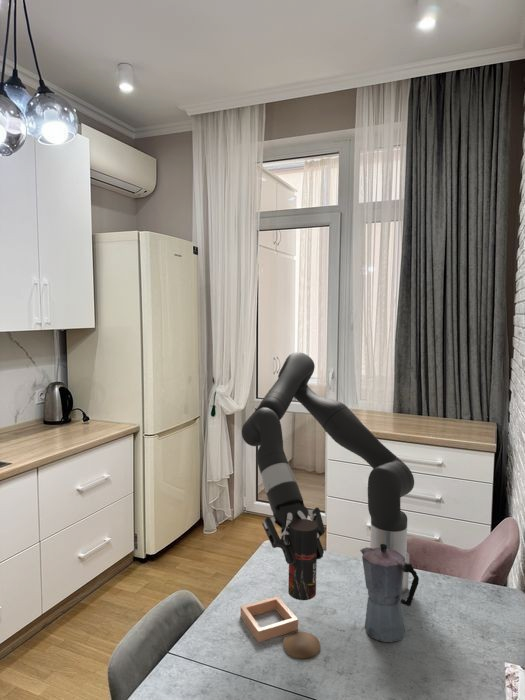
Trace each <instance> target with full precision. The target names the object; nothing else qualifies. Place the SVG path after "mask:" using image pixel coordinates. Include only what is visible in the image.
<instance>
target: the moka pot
mask: <svg viewBox="0 0 525 700" xmlns="http://www.w3.org/2000/svg"><path fill="white" fill-rule="evenodd" d="M359 551H360V552H361V554H362V557H361V559H362V566H363V567H362V568H363V573H364V580H365V581H364V582H365V588H366V589H367V595H368V596H367V603H366V610H365V611H366V612H365V621H364V630H365V631H366V633H367V635H369V636H370V637H371V638H372V639H374V640H377V641H379V642H383V643H393V642H395V643H396V642H397V641H401V640H403V638H404V637H405V634H406V626H405V621H404V614H403V606H402V605H404V606H406V607H411V606H412V603H413V600H414V596H415V593H416V591H417V588H418V585H419V580H420V577H419V576H418V574H417V571H416V570H415V569H414V567H413V564H411V563H409V564H407V563H406V562H405V557H404V556H402V555H401V554H400V553H398V552H397V551H396V550H391V549H387V545H385V544H380V547H379V548H370V547H366V546H365V547H364V548H361V549H360V550H359ZM404 572H409V574H411V575H412V577H413V579H412V581H411V586H410V588H409V592H408V596H407V597H406V599H404V598H401V595H400V592H401V589H402V582H403V573H404Z"/></svg>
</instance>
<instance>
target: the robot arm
mask: <svg viewBox="0 0 525 700" xmlns="http://www.w3.org/2000/svg"><path fill="white" fill-rule="evenodd" d="M314 372H315V362H314V360H313V359H312V358H311V356H309V355H308V354H306V353H303V352H301V351H300V352H299V351H295V352H292V353H290V354H289V355H288V356H287V357H286V358H285V361H284V363H283V365H282V366H281V369H279V373H278V375H277V380H275V382H274V384H273V385H272V387H271V388H270V389H269V390H268V391H267V393H266V394H265V396H264V397H263V399H261V402H260V403H259V405H258V406H257V408H256V409H255V410H254V411H253V413H252V414H251V415H250V416H249V417H248V418H247V420H246V421H245V422H244V424H243V425H242V427H241V438H242V440H243V441H244V443H245V444H247V445H249V446H251V447H258V449H257V451H256V453H255V458H256V459H255V461H256V464H257V466H258V469H259V472H260V476H261V479H262V485H263V488H264V491H265V494H266V497H267V500H268V503H269V507H270V509H271V512H272V514H273V515H272V517H269V516H267V517H266V518H265V519H263V522H262V527H263V529H264V531H265V533H266V535H267V538H268V541H269V543H270V545H271V547H272V548H274V549H276V548H280V549H281V550H282V553H283V555H284V558H285V561H286V564H287V565H289V564H290V566H294V565H295V564H296V558H295V555H294V552H293V549H292V547H291V545H289V540H290V538H289V531H290V522H291V521H293V520H297V519H308V517H309V520H312V521H314V522H315V523H316V524H317V560H321V559H322V558H323V556H324V552H325V551H324V548H323V546H322V543H321V540H320V538H321V537H322V536H323V535H324V534H325V533H326V530H325V526H324V525H325V524H324V520H323V517H322V514H321V510H320V508H319V507H315V508H314V509H308V508H307V507H306V506H305V504H304V499H303V496H302V494H301V490H300V488H299V486H298V481H297V479H296V476H295V475H294V471H293V470H292V468H291V466H290V464H289V461H288V459H287V455H286V453H285V451H284V439H283V428H282V424H281V420H282V418H283V417H284V416H285V414H286V412H287V410H288V409H289V407H290V405H291V403H292V402H293V399H295V400H297V401H298V403H300V404H301V405H302V406H303V407H304V408H305V410H307V412H309V414H310V415H311V416H313V418H314V419H315V420H316V421H317V422H318V424H319V425H320V426H321V427H322V428H323V430H324V431H325V432H326V434H327V435H328V436H330V438H331V439H332V440H334V442H336V443H337V444H338V445H339V446H341V447H343V448H344V449H346V450H348V451H349V452H351V453H352V454H355V456H356V455H357V456H358V457H360V458H361V459H362V460H364V461H365V462H366V463H367V464H368V465H369V466H370V467H371V468H372V470H371V471H370V473H369V475H368V480H367V509H368V514H369V516H370V542H369V544H370V545H369V548H379V547H380V544H385V545H387V549H391V550H396V551H397V552H398V553H400V554H401V555H402V556H404V557H405V562H406V563H407V564H410V554H409V552H408V551H407V545H408V544H407V543H408V516H407V514H406V513H405V512H404V511H402V509H401V498H403V497H404V496H406V495H407V494H409V493H410V492H411V491H412V490H413V489H414V486H415V478H414V475H413V472H412V471H411V469H410V468H409V467H408V465H407V464H406V463H405V462H404V461H403V460H402V459H400V458H399V457H398V456H397V455H395V454H394V452H392V451H391V450H390V449H389V448H387V447H386V446H385V445H384V444H383V443H382V442H381V441H380V440H379V439H378V438H377V437H376V436H375V435H374V434H373V433H372V432H371V431H370V430H369V428H368V427H366V426H365V425H364V423H362V421H361V420H360V419H359V417H357V416H356V415H355V413H354V412H353V411H352V410H351V409H350V408H349V407H348V406H347V405H346V404H344V403H343V402H341V401H338V400H335V399H332V398H327V397H323V396H320V395H318V394H317V393H316V392H315V391H313V390H312V389H311V388H310V386H309V385H308V383H309V381H310V379H311V377H312V376H313V373H314ZM276 525H277V526H278V527H279V528H280V535H279V534H278V532H277V529H276V527H275V526H276ZM409 574H410V573H409V572H404V573H403V582H402V589H401V592H400V596H402V595H403V594H404V593H405V592H406V590H409Z"/></svg>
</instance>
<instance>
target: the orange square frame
mask: <svg viewBox="0 0 525 700" xmlns="http://www.w3.org/2000/svg"><path fill="white" fill-rule="evenodd" d="M274 610H276V611H277V612H278V613H279V615H280V616H281V617H282V619H284V620H281V621H278V622H274V623H272V624H268V625H265V626H260V624H259V623H258V622H257V621H256V619H255V618H254V616H257V615H261V614H264V613H268V612H270V611H274ZM239 617H240V618H241V619H242V621H243V622H244V624H245V626H246V627H247V628H248V630H249V631H250V633H251V634H252V636H253V637H254V638H255V641H257V643H261V642H265V641H267V640H270V639H274V638H276V637H280V636H283V635H286V634H287V635H288V634H290V633H292V632H297V631H299V619H298V618H297V616H296V615H295V614H294V612H293V611H292V610H291V609H289V607H288V606H287V605H286V604H285V603H284V602H283V600H282V599H281V598H280V596H278V595H277V596H274V597H270V598H267V599H263V600H258V601H255V602H252V603H249V604H244V605H242V606H240V616H239Z"/></svg>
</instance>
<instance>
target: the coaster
mask: <svg viewBox="0 0 525 700" xmlns="http://www.w3.org/2000/svg"><path fill="white" fill-rule="evenodd" d="M282 647H283V650H284V652H285V653H286V654H287V655H288V656H289V657H291V658H295V659H298V660H309V659H312V658H315V657H317V655H318V654H319V653H320V650H321V641H320V640H319V639H318V637H317V636H315V635H314V634H312V633H311V632H307V631H304V630H303V631H301V630H300V631H299V630H296V631H293V632H290V633H287V635H285V637H284V638H283V643H282Z"/></svg>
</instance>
